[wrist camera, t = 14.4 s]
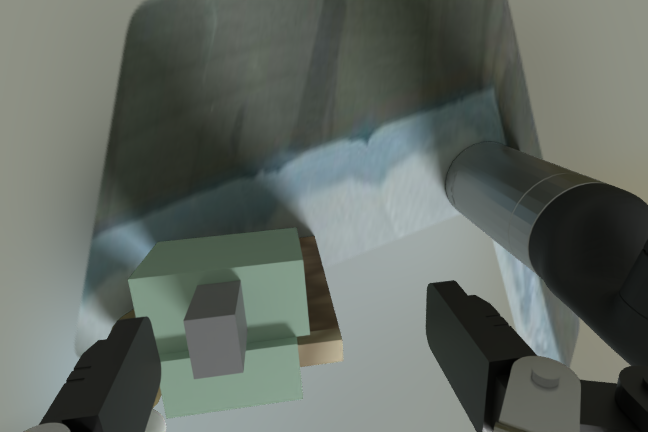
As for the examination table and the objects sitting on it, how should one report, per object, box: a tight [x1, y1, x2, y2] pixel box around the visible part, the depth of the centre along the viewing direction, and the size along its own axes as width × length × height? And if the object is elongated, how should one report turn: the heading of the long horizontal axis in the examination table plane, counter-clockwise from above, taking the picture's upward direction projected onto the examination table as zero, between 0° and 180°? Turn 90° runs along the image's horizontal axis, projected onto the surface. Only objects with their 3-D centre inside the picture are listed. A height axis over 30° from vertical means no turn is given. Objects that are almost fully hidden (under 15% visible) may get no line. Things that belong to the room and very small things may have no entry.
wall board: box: [135, 236, 343, 367], centre depth 42 cm, size 17×7×20 cm, turn 93°
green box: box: [128, 227, 310, 418], centre depth 33 cm, size 12×11×13 cm
